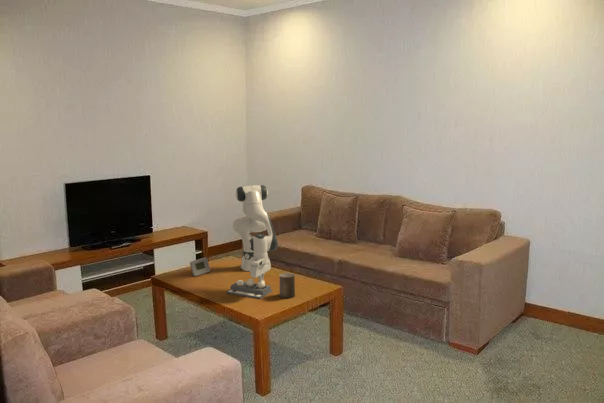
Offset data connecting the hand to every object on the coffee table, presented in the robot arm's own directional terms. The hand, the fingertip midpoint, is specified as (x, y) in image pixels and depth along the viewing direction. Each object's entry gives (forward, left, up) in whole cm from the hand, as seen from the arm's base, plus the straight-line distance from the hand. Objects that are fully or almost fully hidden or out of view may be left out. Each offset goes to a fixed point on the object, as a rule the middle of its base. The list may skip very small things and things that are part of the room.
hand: (261, 280), depth 311 cm
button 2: (0, -8, -5) cm, 9 cm away
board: (+1, -8, -9) cm, 12 cm away
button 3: (0, 0, -5) cm, 5 cm away
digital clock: (-18, -61, -9) cm, 64 cm away
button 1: (0, -16, -7) cm, 17 cm away
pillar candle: (-3, +17, -9) cm, 19 cm away
